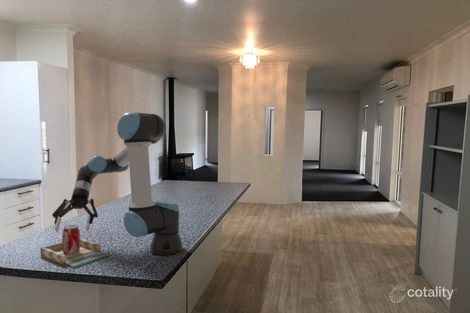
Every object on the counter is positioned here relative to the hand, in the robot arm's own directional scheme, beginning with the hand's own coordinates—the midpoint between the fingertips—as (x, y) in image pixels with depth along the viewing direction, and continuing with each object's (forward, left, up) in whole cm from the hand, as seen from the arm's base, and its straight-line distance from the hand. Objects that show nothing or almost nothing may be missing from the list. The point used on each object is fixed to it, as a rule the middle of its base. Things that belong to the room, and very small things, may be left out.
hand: (71, 230), depth 159 cm
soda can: (-2, +1, -10) cm, 10 cm away
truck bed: (-5, +2, -11) cm, 12 cm away
